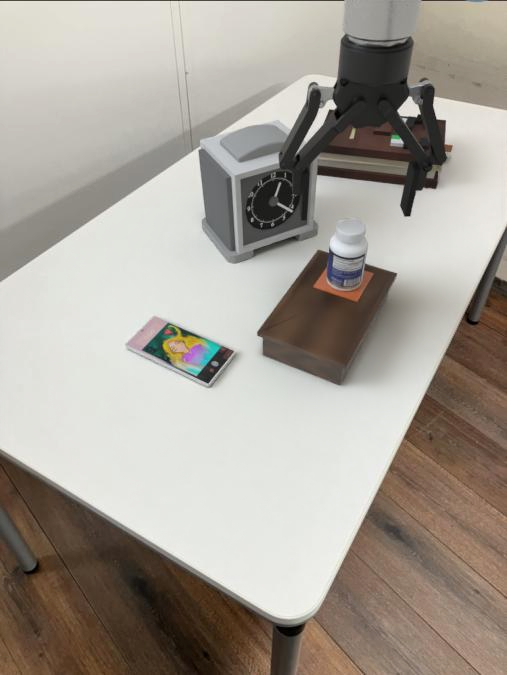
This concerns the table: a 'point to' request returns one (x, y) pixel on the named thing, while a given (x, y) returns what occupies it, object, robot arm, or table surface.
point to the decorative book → (377, 153)
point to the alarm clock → (252, 191)
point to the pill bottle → (347, 255)
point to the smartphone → (181, 350)
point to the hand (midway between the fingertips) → (354, 213)
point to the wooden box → (324, 320)
